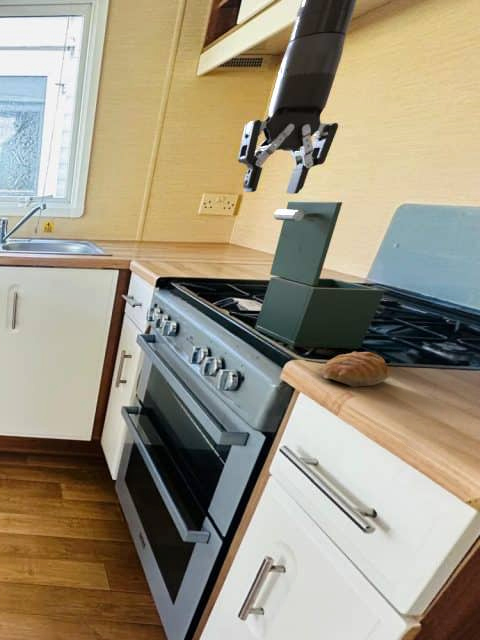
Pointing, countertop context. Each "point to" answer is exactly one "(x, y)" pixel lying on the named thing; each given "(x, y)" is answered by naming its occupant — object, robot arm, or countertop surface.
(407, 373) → the countertop surface
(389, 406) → the countertop surface
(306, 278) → the lid
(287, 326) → the box
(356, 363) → the pastry
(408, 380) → the countertop surface
